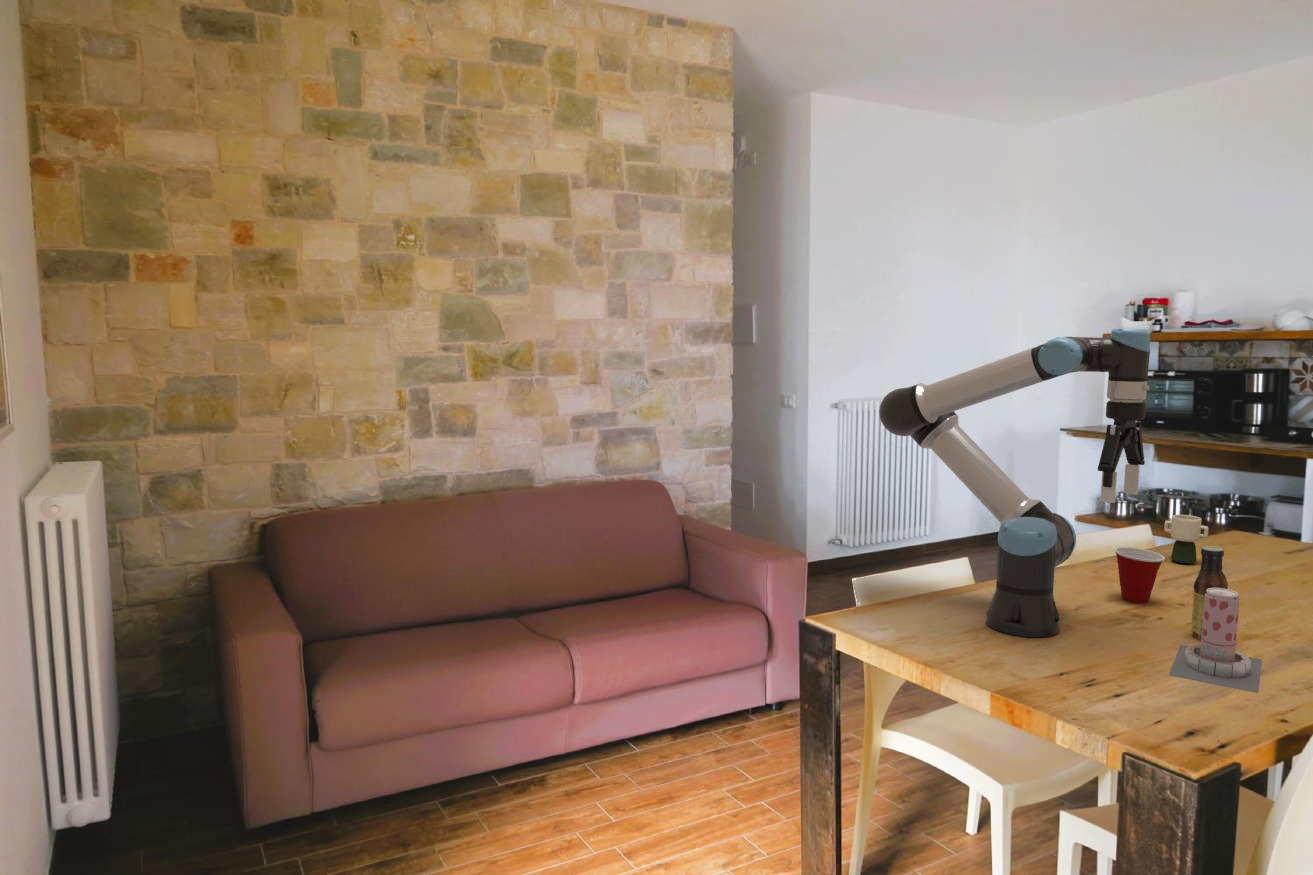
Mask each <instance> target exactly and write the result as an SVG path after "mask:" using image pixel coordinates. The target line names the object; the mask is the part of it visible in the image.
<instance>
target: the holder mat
mask: <svg viewBox="0 0 1313 875" xmlns="http://www.w3.org/2000/svg"><path fill="white" fill-rule="evenodd" d="M1188 647H1189V645H1186V644H1185V645H1183V644H1180V645H1179V647H1178V651H1177V653H1176V656H1175V658H1174V660H1173V664H1172V667H1171V669H1170V672H1169V676H1171V677H1176V678H1180V679H1185V680H1191V681H1196V682H1201V683H1205V684H1210V685H1211V684H1212V685H1215V686H1221V687H1224V688H1225V687H1226V688H1231V689H1237V690H1241V691H1246V692H1250V693H1251V692H1252V693H1256V694H1258V693H1259V689H1260V680H1261V670H1262V664H1263V659H1262V658H1257V657H1251V656H1248V657H1249V659H1250V660H1251V665H1250V674H1248V675H1247V676H1245V677H1237V678H1229V677H1220V676H1215V675H1214V676H1213V675H1210V674H1206V673H1202V672H1199V671H1196V670H1194V669H1192V668H1190V667H1188V666H1187V665H1186V663H1185V649H1186V648H1188Z"/></svg>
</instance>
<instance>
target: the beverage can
mask: <svg viewBox="0 0 1313 875" xmlns="http://www.w3.org/2000/svg"><path fill="white" fill-rule="evenodd" d="M1239 609H1240V593H1239V592H1237V591H1235V590H1232V589H1224V588H1208V589H1207V590H1206V593H1205V601H1204V613H1203V624H1202V636H1201V640H1200V645H1201V648H1200V656H1201V657H1203V658H1206V659H1210V660H1214V661H1220V662H1228V663H1230V662H1234V661H1235V651H1236V649H1237V634H1238V624H1239V623H1238V622H1239V613H1240V612H1239V611H1240V610H1239Z"/></svg>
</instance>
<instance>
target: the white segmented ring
mask: <svg viewBox="0 0 1313 875" xmlns="http://www.w3.org/2000/svg"><path fill="white" fill-rule="evenodd" d="M1188 646H1189V645H1188ZM1200 648H1201V644H1195V645H1193V644H1192V645H1190V646H1189V647H1188V648H1186V649H1185V663H1186V665H1187V666H1188V667H1190V668H1192V669H1194V670H1196V671H1199V672H1202V673H1206V674H1210V675H1213V676H1214V675H1215V676H1220V677H1229V678H1237V677H1245V676H1247V675H1248V674H1250V665H1251V660H1250V659H1249V657H1250V656H1248V654H1244V653H1242V652H1241V651H1237V650H1235V661H1234V662H1230V663H1228V662H1220V661H1214V660H1210V659H1206V658H1203V657H1201V656H1200Z"/></svg>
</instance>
